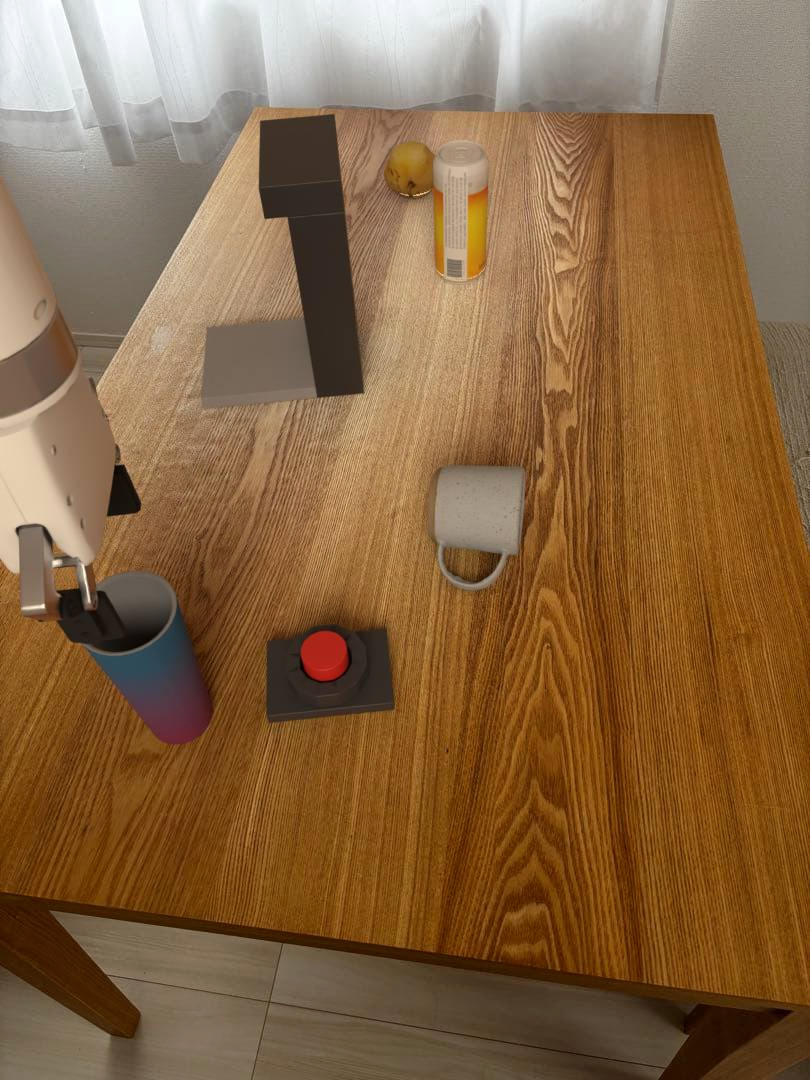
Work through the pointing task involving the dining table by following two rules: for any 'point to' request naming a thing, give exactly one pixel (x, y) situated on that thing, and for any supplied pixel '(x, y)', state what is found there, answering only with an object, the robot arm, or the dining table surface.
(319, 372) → the coffee maker
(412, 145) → the fruit
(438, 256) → the beer can
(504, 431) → the dining table surface
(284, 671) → the pad
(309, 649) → the button
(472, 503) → the ceramic mug
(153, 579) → the cup
